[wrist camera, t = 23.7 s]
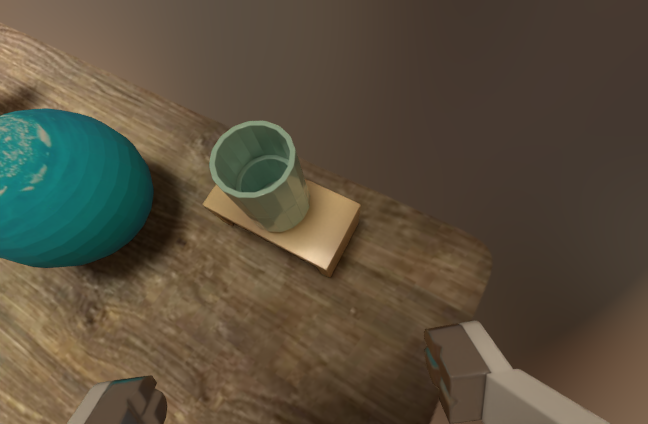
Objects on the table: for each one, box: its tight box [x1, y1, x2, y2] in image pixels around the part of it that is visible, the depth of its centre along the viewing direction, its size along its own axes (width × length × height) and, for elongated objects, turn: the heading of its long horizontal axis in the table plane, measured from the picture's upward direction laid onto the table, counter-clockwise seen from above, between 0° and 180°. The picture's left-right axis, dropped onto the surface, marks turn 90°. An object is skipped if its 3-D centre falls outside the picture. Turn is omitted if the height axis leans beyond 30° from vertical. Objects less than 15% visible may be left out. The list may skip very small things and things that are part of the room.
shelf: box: [202, 179, 361, 278], centre depth 32 cm, size 14×7×6 cm, turn 62°
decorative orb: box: [0, 109, 154, 268], centre depth 29 cm, size 15×15×15 cm
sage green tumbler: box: [209, 121, 310, 232], centre depth 25 cm, size 6×6×9 cm
